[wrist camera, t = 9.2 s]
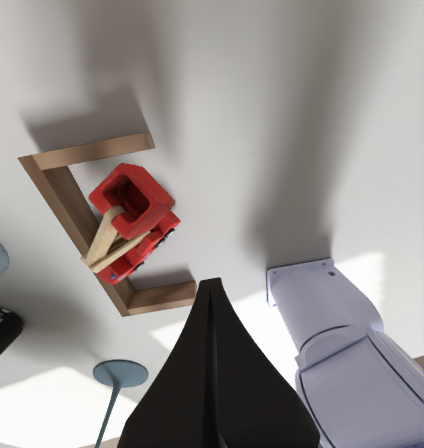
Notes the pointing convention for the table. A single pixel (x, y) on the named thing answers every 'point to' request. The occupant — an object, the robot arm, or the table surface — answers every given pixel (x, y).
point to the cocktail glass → (118, 382)
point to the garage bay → (86, 222)
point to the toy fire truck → (128, 222)
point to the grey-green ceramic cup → (3, 259)
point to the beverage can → (9, 328)
